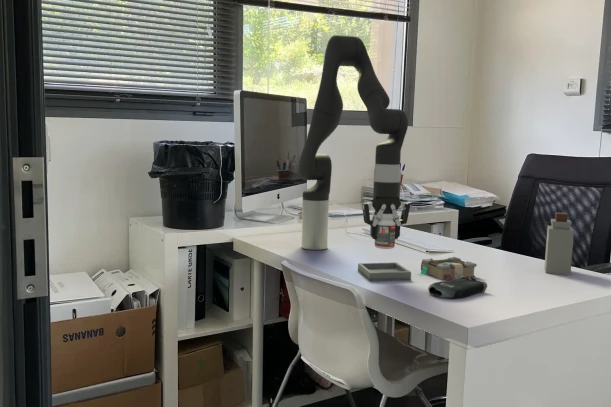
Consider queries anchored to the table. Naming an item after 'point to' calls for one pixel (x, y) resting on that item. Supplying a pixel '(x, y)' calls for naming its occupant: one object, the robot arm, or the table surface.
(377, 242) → the pill bottle
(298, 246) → the table surface
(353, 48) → the robot arm
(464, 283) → the electronic device
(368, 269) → the tray
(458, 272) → the cardboard box
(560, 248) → the perfume bottle
